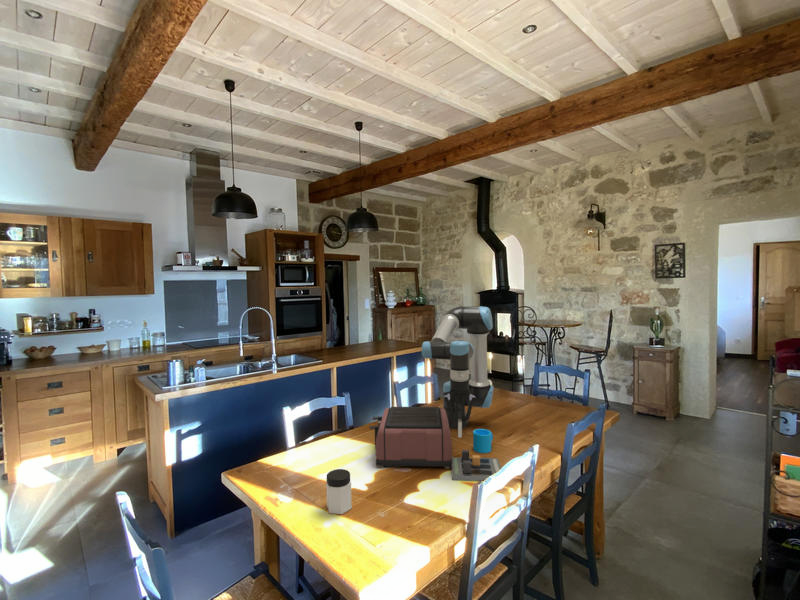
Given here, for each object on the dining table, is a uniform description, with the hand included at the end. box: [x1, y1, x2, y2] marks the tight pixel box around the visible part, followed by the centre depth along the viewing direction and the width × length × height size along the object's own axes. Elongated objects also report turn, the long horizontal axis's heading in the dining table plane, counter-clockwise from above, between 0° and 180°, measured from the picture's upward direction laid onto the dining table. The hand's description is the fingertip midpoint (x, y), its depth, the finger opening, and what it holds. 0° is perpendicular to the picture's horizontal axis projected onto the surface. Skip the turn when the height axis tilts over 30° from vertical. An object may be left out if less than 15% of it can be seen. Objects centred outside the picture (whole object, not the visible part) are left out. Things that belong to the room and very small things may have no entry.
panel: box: [451, 456, 502, 482], centre depth 167 cm, size 16×20×2 cm
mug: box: [472, 428, 494, 454], centre depth 189 cm, size 12×8×8 cm
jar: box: [325, 468, 353, 515], centre depth 141 cm, size 9×8×12 cm
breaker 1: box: [461, 449, 470, 462], centre depth 172 cm, size 3×3×4 cm
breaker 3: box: [471, 454, 481, 468], centre depth 167 cm, size 3×3×4 cm
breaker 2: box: [463, 460, 471, 473], centre depth 162 cm, size 3×3×4 cm
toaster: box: [368, 406, 453, 470], centre depth 185 cm, size 31×36×18 cm
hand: (459, 436), depth 166 cm, fingers closed
